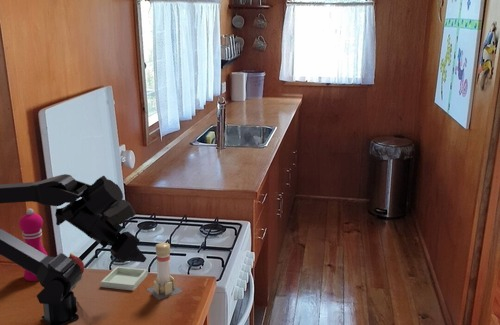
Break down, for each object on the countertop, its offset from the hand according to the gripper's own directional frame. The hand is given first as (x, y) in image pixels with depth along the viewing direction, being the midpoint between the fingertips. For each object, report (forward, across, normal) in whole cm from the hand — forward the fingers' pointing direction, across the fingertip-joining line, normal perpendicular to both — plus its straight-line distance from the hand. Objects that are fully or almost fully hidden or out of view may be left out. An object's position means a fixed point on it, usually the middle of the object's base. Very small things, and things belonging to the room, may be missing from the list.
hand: (136, 253), depth 121 cm
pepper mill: (-2, +31, +22) cm, 38 cm away
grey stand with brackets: (+15, 0, +4) cm, 15 cm away
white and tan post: (+14, 0, +4) cm, 14 cm away
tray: (+10, +11, +9) cm, 18 cm away
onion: (+3, +22, +16) cm, 28 cm away
